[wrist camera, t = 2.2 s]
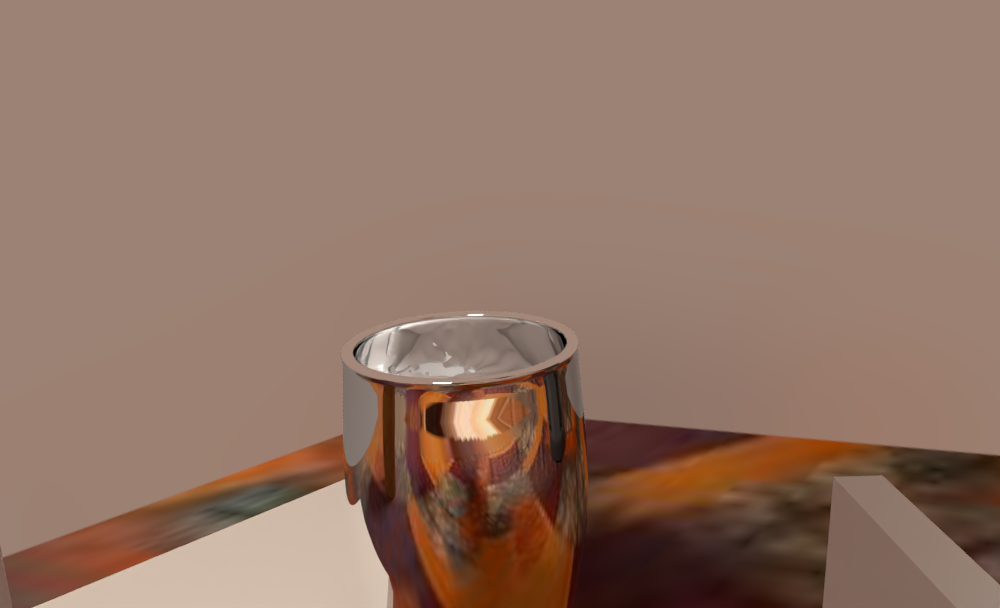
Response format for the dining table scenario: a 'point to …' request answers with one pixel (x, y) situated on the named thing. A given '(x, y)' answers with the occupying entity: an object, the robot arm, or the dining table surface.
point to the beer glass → (466, 461)
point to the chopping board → (247, 565)
